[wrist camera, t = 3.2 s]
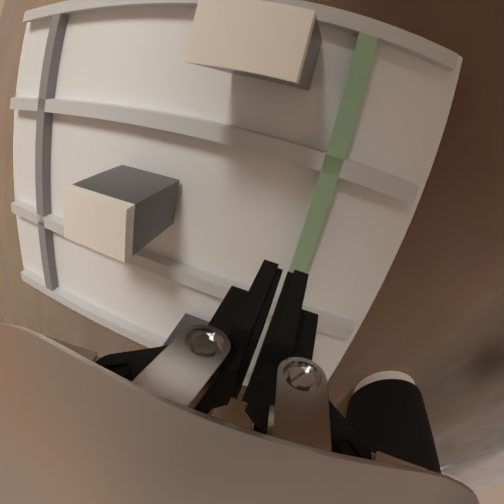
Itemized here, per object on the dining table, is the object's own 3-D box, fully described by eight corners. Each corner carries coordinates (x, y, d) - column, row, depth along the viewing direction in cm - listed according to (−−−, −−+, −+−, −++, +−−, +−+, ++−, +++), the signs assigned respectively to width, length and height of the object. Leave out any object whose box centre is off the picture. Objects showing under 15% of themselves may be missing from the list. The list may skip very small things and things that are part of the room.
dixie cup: (442, 404, 20) (455, 528, 10) (352, 430, 23) (337, 547, 14) (424, 338, 18) (448, 496, 8) (315, 374, 21) (285, 519, 12)
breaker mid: (122, 164, 16) (62, 188, 12) (179, 180, 15) (126, 209, 11) (119, 205, 17) (64, 237, 13) (173, 223, 17) (124, 262, 13)
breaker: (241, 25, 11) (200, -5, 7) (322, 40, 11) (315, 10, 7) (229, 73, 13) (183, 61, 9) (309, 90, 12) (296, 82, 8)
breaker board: (44, 12, 14) (22, 10, 12) (452, 61, 11) (469, 55, 9) (35, 267, 25) (19, 279, 23) (317, 384, 22) (314, 409, 20)
